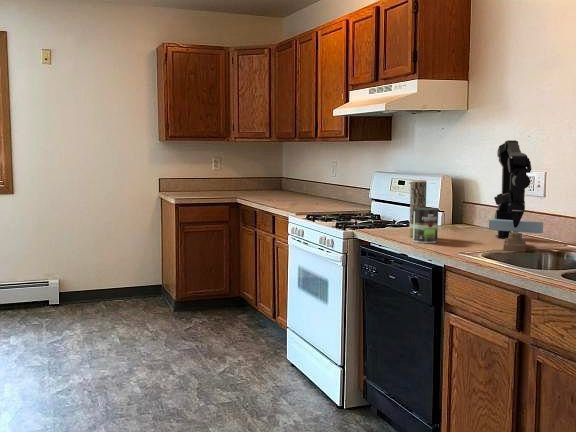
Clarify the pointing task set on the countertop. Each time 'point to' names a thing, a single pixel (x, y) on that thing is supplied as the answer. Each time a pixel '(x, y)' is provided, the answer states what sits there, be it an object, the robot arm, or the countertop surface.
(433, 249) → the countertop surface
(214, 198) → the countertop surface
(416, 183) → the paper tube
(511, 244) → the ridge stand
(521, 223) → the beam
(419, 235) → the coffee can
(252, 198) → the countertop surface
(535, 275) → the countertop surface
